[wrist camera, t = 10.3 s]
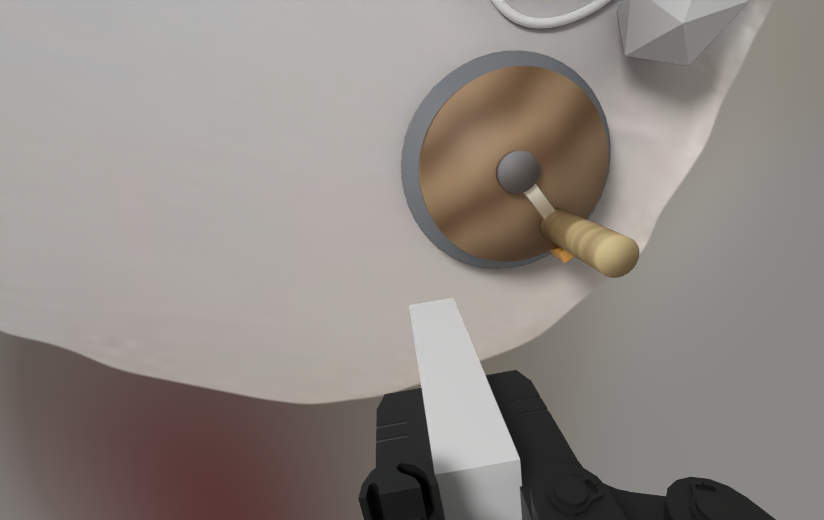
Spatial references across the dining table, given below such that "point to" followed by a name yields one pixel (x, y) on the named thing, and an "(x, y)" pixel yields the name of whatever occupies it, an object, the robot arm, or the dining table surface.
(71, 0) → the dining table surface
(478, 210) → the dial
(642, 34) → the die
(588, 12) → the earphone
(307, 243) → the dining table surface
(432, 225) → the dial base
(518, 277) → the dining table surface
